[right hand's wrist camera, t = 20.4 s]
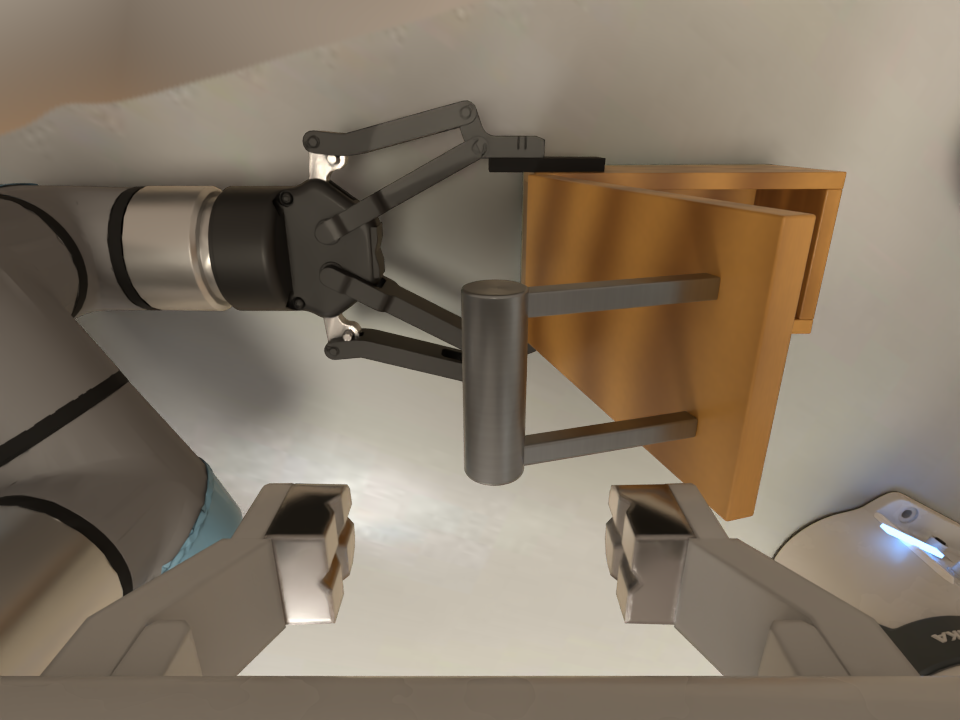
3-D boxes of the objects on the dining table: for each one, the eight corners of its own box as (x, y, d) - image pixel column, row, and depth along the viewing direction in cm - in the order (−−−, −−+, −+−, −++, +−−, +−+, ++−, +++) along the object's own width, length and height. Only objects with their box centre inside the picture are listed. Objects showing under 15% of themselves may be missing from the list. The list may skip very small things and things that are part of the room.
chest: (767, 164, 39) (847, 171, 31) (744, 294, 43) (811, 334, 34) (523, 165, 39) (535, 173, 31) (520, 295, 43) (530, 335, 34)
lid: (817, 214, 14) (487, 231, 12) (754, 516, 18) (487, 575, 16) (545, 173, 30) (381, 177, 28) (540, 337, 34) (392, 353, 32)
